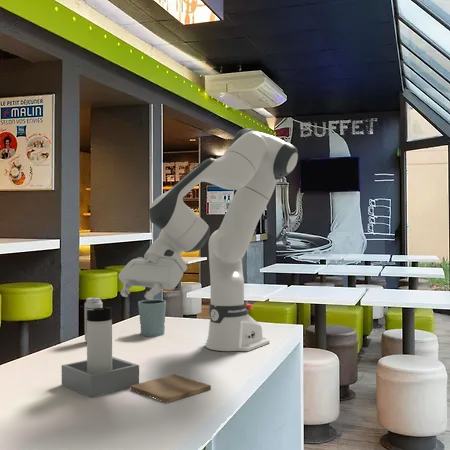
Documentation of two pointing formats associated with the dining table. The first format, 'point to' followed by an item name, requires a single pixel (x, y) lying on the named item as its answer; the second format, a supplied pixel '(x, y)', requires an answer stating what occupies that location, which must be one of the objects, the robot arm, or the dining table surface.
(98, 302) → the energy drink can
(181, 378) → the serving board
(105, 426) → the dining table surface
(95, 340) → the travel mug
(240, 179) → the robot arm
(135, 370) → the crate
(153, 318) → the teal cup
